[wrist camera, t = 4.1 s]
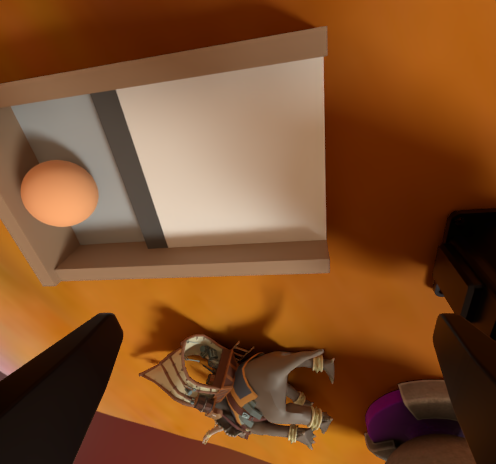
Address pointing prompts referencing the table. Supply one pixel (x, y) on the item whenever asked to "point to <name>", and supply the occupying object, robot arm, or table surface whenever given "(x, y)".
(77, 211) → the ball
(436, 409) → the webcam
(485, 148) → the table surface
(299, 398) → the figurine
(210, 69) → the shallow open tray
